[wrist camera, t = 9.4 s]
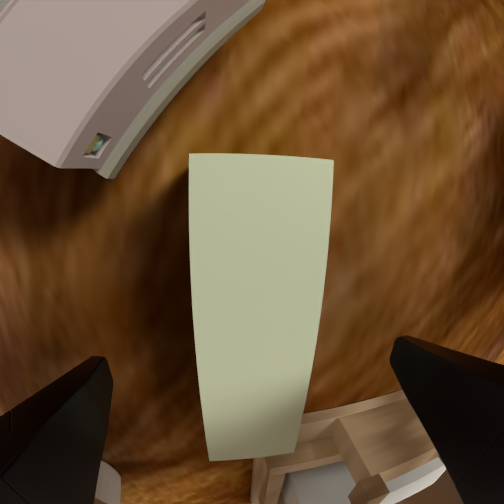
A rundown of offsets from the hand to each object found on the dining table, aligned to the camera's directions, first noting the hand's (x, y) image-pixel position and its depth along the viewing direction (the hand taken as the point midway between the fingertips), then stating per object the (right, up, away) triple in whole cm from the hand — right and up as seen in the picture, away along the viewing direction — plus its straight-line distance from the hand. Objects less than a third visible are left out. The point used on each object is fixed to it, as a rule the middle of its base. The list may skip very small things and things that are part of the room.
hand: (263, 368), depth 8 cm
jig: (+8, -12, +9) cm, 17 cm away
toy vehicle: (-10, +15, -1) cm, 18 cm away
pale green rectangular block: (-1, +1, +4) cm, 5 cm away
